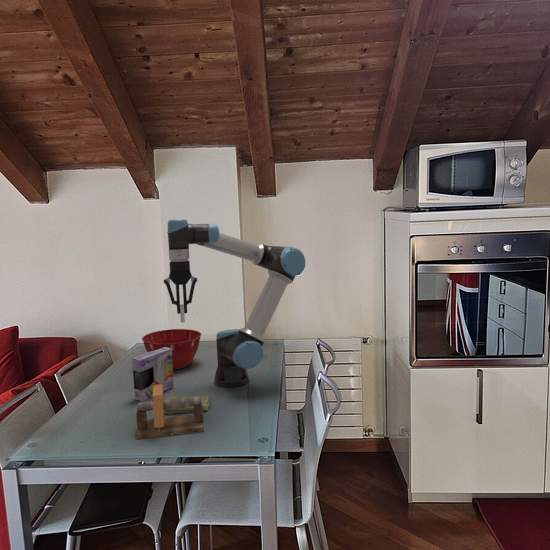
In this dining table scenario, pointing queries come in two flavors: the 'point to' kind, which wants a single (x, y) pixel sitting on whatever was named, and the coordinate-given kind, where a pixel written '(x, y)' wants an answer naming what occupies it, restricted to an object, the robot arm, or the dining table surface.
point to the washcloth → (187, 409)
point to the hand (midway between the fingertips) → (182, 321)
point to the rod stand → (170, 418)
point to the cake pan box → (152, 372)
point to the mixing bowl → (175, 344)
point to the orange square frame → (158, 406)
